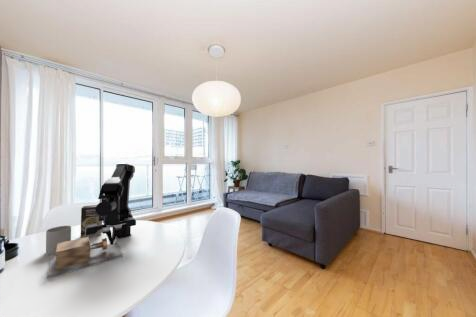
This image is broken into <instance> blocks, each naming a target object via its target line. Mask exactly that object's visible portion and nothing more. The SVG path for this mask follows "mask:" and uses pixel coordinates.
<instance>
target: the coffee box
mask: <svg viewBox="0 0 476 317" xmlns="http://www.w3.org/2000/svg"><path fill="white" fill-rule="evenodd" d="M97 205H98V204H93V205H84V206H82V207H81V210H80V212H81V213H80V215H81V216H80V239H81V238H85V237H89V238H91V237H98V236H101V235H102V234H103V233H102V231H101V230H98V231H97V232H96V233H95V234H90V235H86V233H85V227H86V226H87V225H91V224H97V226H98V225H103V221H98V214H97V213H96V210H95V208H96V206H97Z"/></svg>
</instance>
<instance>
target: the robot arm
mask: <svg viewBox="0 0 476 317" xmlns="http://www.w3.org/2000/svg"><path fill="white" fill-rule="evenodd" d="M115 165H116V167H115V169H114V171H113V172H112V175H111V177H110V178H108V179H106V180H105V181H104V183H103V184H101V186H100V191H99V193H98V194H99V195H98V197H97V199H98V200H101V201H100V202H99V203H98V204H96V205H97V206H96V208H95V210H96V213H97V214H98V221H102V225H98V226H97V224H91V225H87V226H86V227H85V233H86V235H90V234H95V233H96V232H97V231H98V230H101V231H102V234H106V237H107V240H108V241H109V244H111V245H112V244H113V243H115V240H116V239H117V240H119V239H124V238H127V237H131V236H132V234H131V227H134V226H136V224H137V220H136V219H135V218H134V217H133V214H132V210H131V209H130V207H129V202H130V201H129V199H130V185H131V180H132V179H133V177H134V173H136V167H135V166H134V165H132V164H128V163H127V162H121V163H120V162H119V163H116V164H115ZM111 228H112V230H111Z"/></svg>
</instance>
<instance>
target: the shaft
mask: <svg viewBox="0 0 476 317" xmlns="http://www.w3.org/2000/svg"><path fill="white" fill-rule="evenodd" d="M107 240H108V237H104V238H103V237H102V238H101V241H97V242H94V243H90V250H93V249H97V248H101V247H102V250H105V249H107V244H108V241H107Z"/></svg>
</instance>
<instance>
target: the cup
mask: <svg viewBox="0 0 476 317" xmlns="http://www.w3.org/2000/svg"><path fill="white" fill-rule="evenodd" d="M45 233H46V234H45V254H46V255H47V256H54V255H55V256H56V249H57V243H61V242H66V241H71V240H72V226H71V225H62V226H61V225H60V226H55V227H51V228H48V229H47V230H46V232H45Z"/></svg>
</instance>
